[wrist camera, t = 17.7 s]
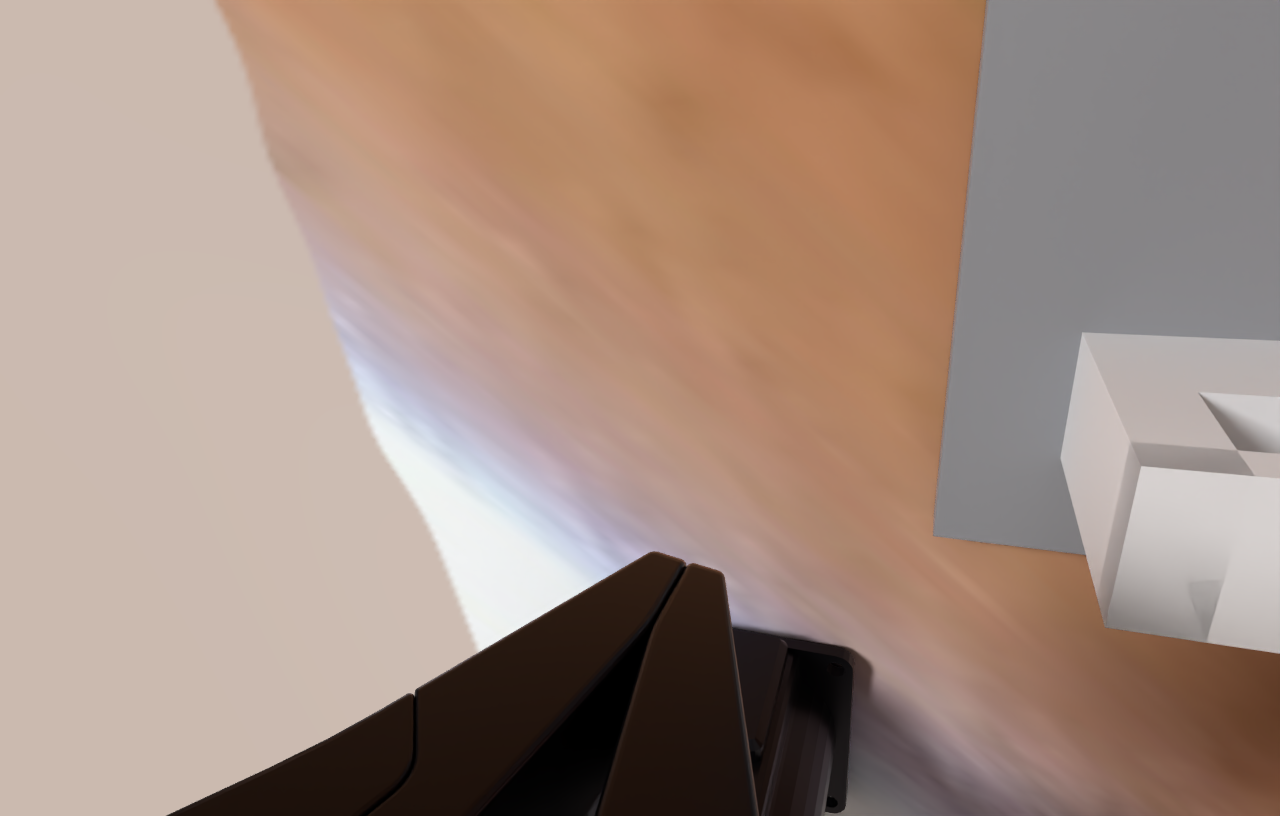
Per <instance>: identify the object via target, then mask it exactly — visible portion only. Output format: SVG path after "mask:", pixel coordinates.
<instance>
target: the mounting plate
mask: <svg viewBox="0 0 1280 816" xmlns="http://www.w3.org/2000/svg"><path fill="white" fill-rule="evenodd" d="M933 536H937V537H945V538H953V539H961V540H969V541H977V542H985V543H993V544H1002V545H1010V546H1018V547H1026V548H1034V549H1042V550H1050V551H1058V552H1066V553H1074V554H1082V555H1086V557H1087V561H1088V565H1089V569H1090V572H1091V576H1092V580H1093V584H1094V588H1095V591H1096V595H1097V599H1098V603H1099V607H1100V610H1101V614H1102V618H1103V622H1104V626H1105V628H1112V629H1119V630H1125V631H1132V632H1139V633H1145V634H1152V635H1159V636H1165V637H1172V638H1179V639H1185V640H1192V641H1199V642H1205V643H1212V644H1219V645H1226V646H1232V647H1239V648H1246V649H1252V650H1259V651H1266V652H1272V653H1279V654H1280V0H986V10H985V19H984V29H983V39H982V49H981V59H980V68H979V78H978V88H977V98H976V107H975V117H974V127H973V137H972V147H971V156H970V166H969V176H968V186H967V196H966V205H965V215H964V225H963V235H962V244H961V254H960V264H959V274H958V284H957V293H956V303H955V313H954V323H953V332H952V342H951V352H950V362H949V372H948V381H947V391H946V401H945V411H944V420H943V430H942V440H941V450H940V460H939V469H938V479H937V489H936V499H935V509H934V529H933Z"/></svg>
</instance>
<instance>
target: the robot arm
mask: <svg viewBox="0 0 1280 816" xmlns="http://www.w3.org/2000/svg"><path fill="white" fill-rule="evenodd" d="M831 663H838V664H841V665H842V667H836V666H833V665H832V664H831ZM854 668H855V662H854V658H853V656H852V655H851V654H850V653H849V652H848V651H846V650H845V649H843V648H839V647H835V646H829V645H824V644H818V643H812V642H806V641H801V640H795V639H789V638H783V637H778V636H772V635H766V634H760V633H754V632H749V631H743V630H737V629H732V624H731V617H730V610H729V603H728V596H727V590H726V583H725V577H724V575H723V573H722V572H720V571H718V570H714V569H711V568H708V567H705V566H702V565H698V564H695V563H692V564H689V565H687V566H686V563H685V561H684V560H682V559H679V558H676V557H673V556H669V555H666V554H663V553H660V552H655V551H654V552H650V553H648V554H646V555H644V556H642V557H641V558H639V559H637V560H636V561H634V562H632V563H630V564H629V565H627V566H625V567H624V568H622V569H620V570H618V571H617V572H615V573H613V574H612V575H610V576H608V577H607V578H605V579H603V580H601V581H600V582H598V583H596V584H595V585H593V586H591V587H589V588H588V589H586V590H584V591H583V592H581V593H579V594H578V595H576V596H574V597H572V598H571V599H569V600H567V601H566V602H564V603H562V604H560V605H559V606H557V607H555V608H554V609H552V610H550V611H549V612H547V613H545V614H543V615H542V616H540V617H538V618H537V619H535V620H533V621H531V622H530V623H528V624H526V625H525V626H523V627H521V628H519V629H518V630H516V631H514V632H513V633H511V634H509V635H508V636H506V637H504V638H502V639H501V640H499V641H497V642H496V643H494V644H492V645H490V646H489V647H487V648H485V649H484V650H482V651H480V652H479V653H477V654H475V655H473V656H472V657H470V658H468V659H467V660H465V661H463V662H462V663H460V664H458V665H457V666H455V667H453V668H451V669H450V670H448V671H446V672H445V673H443V674H441V675H439V676H438V677H436V678H434V679H433V680H431V681H429V682H427V683H426V684H424V685H422V686H421V687H419V688H417V689H416V690H415V697H414V695H413V694H411V693H408V694H406V695H405V696H403V697H401V698H400V699H398V700H396V701H394V702H393V703H391V704H389V705H387V706H386V707H384V708H382V709H381V710H379V711H377V712H376V713H374V714H372V715H370V716H368V717H366V718H365V719H363V720H361V721H359V722H357V723H355V724H354V725H352V726H350V727H348V728H346V729H345V730H343V731H341V732H339V733H337V734H336V735H334V736H332V737H330V738H328V739H326V740H324V741H323V742H320V743H318V744H316V745H315V746H312V747H310V748H308V749H306V750H304V751H302V752H300V753H298V754H296V755H294V756H292V757H290V758H288V759H286V760H284V761H282V762H280V763H278V764H276V765H274V766H272V767H270V768H268V769H265V770H263V771H261V772H259V773H257V774H255V775H253V776H250V777H248V778H246V779H244V780H242V781H239V782H237V783H235V784H233V785H231V786H229V787H227V788H224V789H222V790H220V791H219V792H216V793H214V794H212V795H210V796H207V797H205V798H203V799H201V800H199V801H197V802H194V803H192V804H190V805H188V806H186V807H184V808H182V809H180V810H177V811H175V812H173V813H171V814H169V815H167V816H824V814H825V812H829V813H839V812H841V811H843V810H844V809H845V806H846V799H847V787H848V770H849V753H850V736H851V719H852V702H853V685H854ZM830 796H831V797H830Z"/></svg>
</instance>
